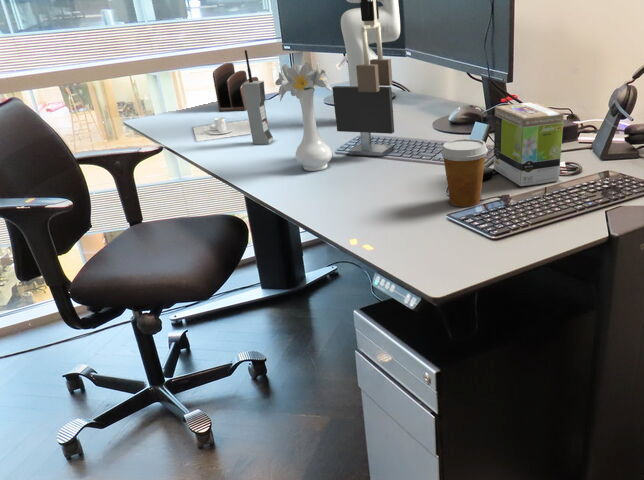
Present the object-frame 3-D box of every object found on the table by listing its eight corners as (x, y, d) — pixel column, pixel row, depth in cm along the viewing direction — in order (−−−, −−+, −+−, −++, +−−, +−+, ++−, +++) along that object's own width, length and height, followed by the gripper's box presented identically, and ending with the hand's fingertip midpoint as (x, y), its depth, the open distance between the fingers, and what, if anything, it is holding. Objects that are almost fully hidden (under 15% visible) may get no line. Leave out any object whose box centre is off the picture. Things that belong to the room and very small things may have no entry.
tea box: (560, 181, 145) (565, 112, 137) (519, 188, 143) (522, 118, 135) (530, 164, 157) (533, 99, 149) (492, 170, 155) (492, 105, 147)
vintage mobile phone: (269, 144, 189) (253, 50, 176) (253, 144, 190) (236, 51, 177) (273, 141, 192) (258, 48, 179) (257, 141, 193) (241, 49, 180)
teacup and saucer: (208, 130, 209) (205, 117, 207) (232, 127, 211) (230, 114, 209) (210, 136, 202) (207, 123, 200) (235, 133, 204) (233, 119, 202)
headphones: (374, 84, 167) (368, -3, 157) (392, 84, 166) (386, -4, 155) (358, 91, 160) (349, 1, 149) (376, 92, 158) (369, 0, 148)
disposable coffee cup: (439, 196, 142) (437, 140, 135) (482, 192, 142) (482, 136, 136) (445, 211, 134) (444, 152, 127) (491, 207, 134) (492, 148, 128)
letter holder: (219, 111, 233) (210, 69, 226) (237, 99, 250) (230, 60, 242) (245, 110, 232) (237, 68, 224) (262, 98, 248) (255, 58, 241)
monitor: (350, 147, 181) (344, 82, 172) (403, 150, 175) (399, 82, 166) (339, 154, 176) (331, 87, 166) (393, 157, 170) (388, 88, 161)
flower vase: (325, 154, 176) (313, 54, 163) (349, 171, 162) (338, 62, 148) (279, 163, 172) (262, 60, 158) (299, 181, 158) (283, 70, 144)
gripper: (362, -74, 137) (370, 24, 147) (392, -75, 149) (397, 16, 159) (331, -71, 140) (341, 24, 150) (363, -72, 152) (370, 16, 162)
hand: (370, 19), depth 155 cm, fingers closed on headphones
